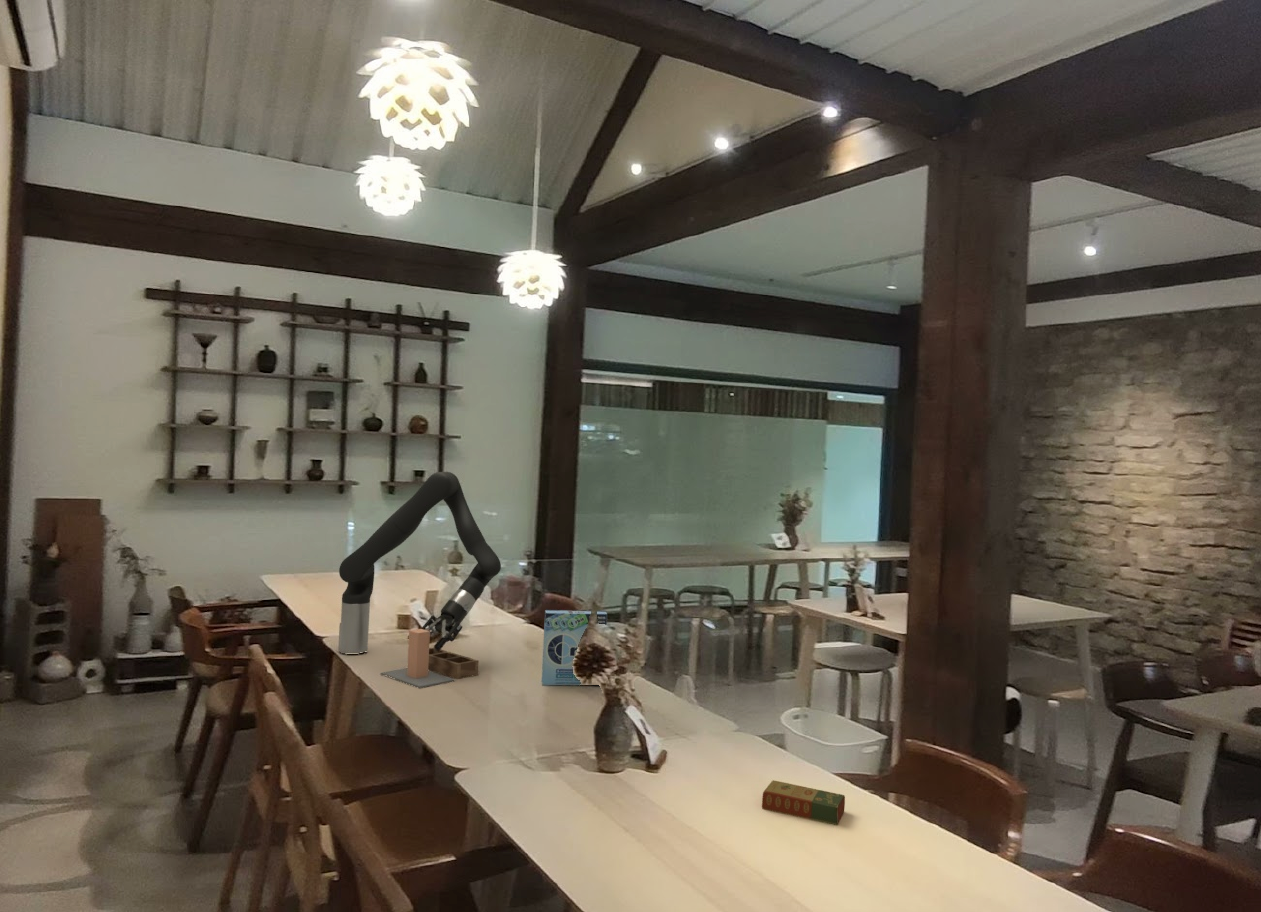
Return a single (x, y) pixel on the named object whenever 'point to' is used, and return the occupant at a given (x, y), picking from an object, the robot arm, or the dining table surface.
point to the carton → (803, 802)
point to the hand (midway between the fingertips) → (427, 646)
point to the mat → (418, 682)
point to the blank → (418, 653)
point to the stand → (452, 664)
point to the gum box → (563, 644)
